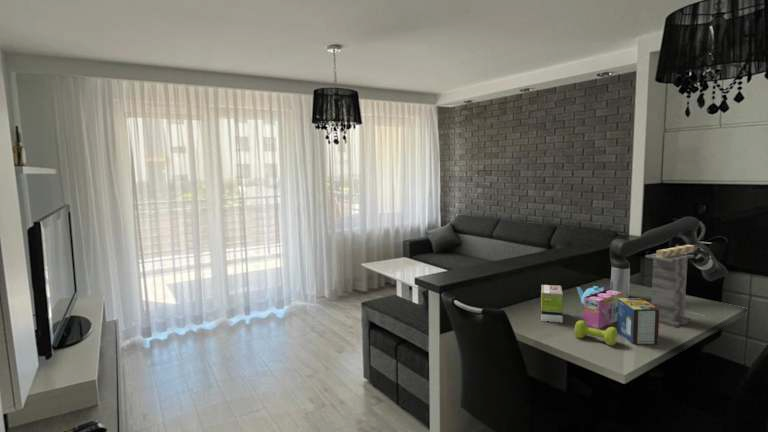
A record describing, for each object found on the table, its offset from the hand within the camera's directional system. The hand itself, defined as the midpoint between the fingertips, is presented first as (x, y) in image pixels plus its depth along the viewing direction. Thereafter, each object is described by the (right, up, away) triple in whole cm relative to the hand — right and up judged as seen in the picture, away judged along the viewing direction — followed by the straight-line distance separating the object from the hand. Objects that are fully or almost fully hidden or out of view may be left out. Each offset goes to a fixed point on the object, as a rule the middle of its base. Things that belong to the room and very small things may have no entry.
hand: (686, 247), depth 208 cm
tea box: (-64, -36, +5) cm, 74 cm away
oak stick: (-8, -3, -4) cm, 9 cm away
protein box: (-38, -38, -22) cm, 58 cm away
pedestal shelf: (-11, -35, -2) cm, 37 cm away
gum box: (-42, -36, -2) cm, 56 cm away
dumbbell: (-57, -39, -24) cm, 73 cm away
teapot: (-35, -33, +20) cm, 52 cm away
